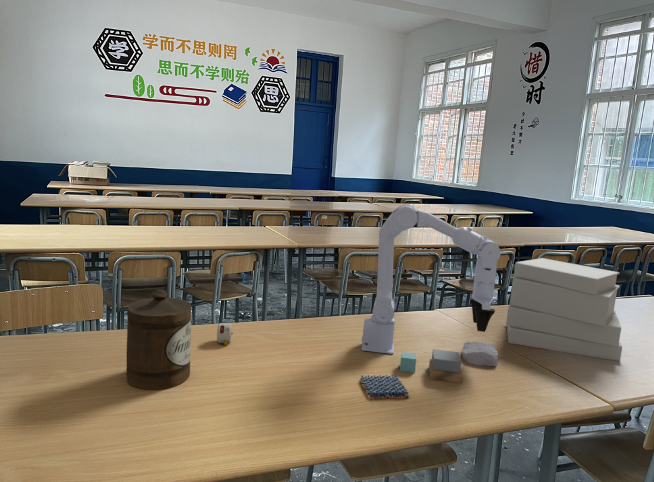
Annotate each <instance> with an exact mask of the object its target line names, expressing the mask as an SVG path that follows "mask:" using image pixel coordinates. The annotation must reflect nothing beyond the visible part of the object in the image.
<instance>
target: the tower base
mask: <svg viewBox="0 0 654 482" xmlns="http://www.w3.org/2000/svg"><path fill="white" fill-rule="evenodd" d="M428 371H429V379H430V381H439V382H447V383H454V382H455V384H463V383H462V382H463V370H462V369H461V370H460V373H457V372H449V371H441V370H433V366H432V358H429V363H428Z"/></svg>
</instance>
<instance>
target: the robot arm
mask: <svg viewBox="0 0 654 482" xmlns="http://www.w3.org/2000/svg"><path fill="white" fill-rule="evenodd" d="M415 225H417V228H420V227H423V228H424V227H428V228H431V229H432V230H435V231H436V232H439V233H440V234H443V235H445V236H447V237H449V238H450V239H451V240H452V243H453V245H455V246H456V247H459V248H460V249H463V250H464V251H466V252H469V254H472V255H477V258H476V264H475V268H474V269H475V270H474V279H473V287H472V288H473V289H472V294H471V297H469V299H468V300H469V302H470V304H471V311H472V320H473V321H472V322H473V323H474V324H476V330H477V332H483V333H486V330H487V328H488V326H489V325H488V324H489V322H490V320H491V318H492V317H493V315H494V314H495V312H496V309H495V308H491V304H492V303H493V302H494V301H496V302H497V301H498V297H497V296H494V292H495V285H496V284H495V283H496V276H497V265H498V260H499V259H500V258H501V254H502V253H501V250H500V249H501V248H500V247H499V244H497V243H496V242H494V241H493V240H491V239H490V238H488V236H487V235H482V234H479V233H477V232H475V231H474V230H473V228H472V227H470V226H467V227H465V226H460V227H455V226H453V225H452V224H450V223H448V222H447V221H444V220H443V219H441V218H439V217H437V216H435V215H434V214H432V213H430V212H428V211H426V210H423V209H420V208H418V207H415V208H414V207H413V206H412V205H411V204H402V205H400V206H398V207H396V209H394V210H393V211H392V212H391V213H390V215H389V216H388V218H387V219H386V220H385V221H384V222H383V224H382V226H381V227H380V229H379V231H378V232H379V233H378V252H377V253H378V255H377V256H378V258H377V278H376V279H377V280H376V281H377V283H376V284H377V285H376V286H377V287H376V297H375V300H374V305H373V309H372V315H371V316H370V317H369V318H367V317H366V318H364V321H363V327H362V328H363V329H362V336H361V351H364V352H373V353H380V354H381V353H382V354H388V355H389V354H390V355H393V354H394V353H395V344H394V337H395V323H396V319H395V318H394V317H395V308H396V307H395V306H396V305H395V300H394V299H393V280H394V279H393V273H394V253H395V238H396V237H398V236H399V235H400V234H402V232H404V231H407V230H410V229H412V228H413V227H415Z"/></svg>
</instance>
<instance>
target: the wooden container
mask: <svg viewBox="0 0 654 482" xmlns="http://www.w3.org/2000/svg"><path fill="white" fill-rule="evenodd" d="M151 294H152V297H150V298H145V299H144V298H143V299H139V300H135V301H133V302H132V303H130V304H129V305H128V306H127V311H126V312H127V314H126V315H127V316H126V317H127V318H126V319H127V322H126V324H127V327H126V329H127V331H126V376H125V377H126V382H127V383H128V384H129V385H130V386H132V387H134V388H138V389H142V390H149V391H151V390H152V391H153V390H163V389H164V390H165V389H169V388H173V387H175V386H179V385H181V384H183V383H184V382H186V381H188V379H189V378H190V375H191V374H190V373H191V350H192V349H191V347H192V343H191V340H192V338H191V336H192V335H191V334H192V333H191V332H192V330H191V329H192V324H191V323H192V321H191V319H192V304H191V302H189V301H187V300H185V299H181V298H176V297H167V296H168V293H167V291H166V290H165V289H156V290H155V291H153V293H151Z"/></svg>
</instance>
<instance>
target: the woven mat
mask: <svg viewBox="0 0 654 482" xmlns="http://www.w3.org/2000/svg"><path fill="white" fill-rule="evenodd" d="M359 379H360V380H359V382H360V384H361V386H362V387H363V389H364V390H365V394H366V396H367V398H368V399H371V400H373V399H374V400H376V399H405V398H406V399H408V398H410V395H409V391H408V389H407V388H406V386H405V384H403V382H402V381H401V380H400V378H399V376H397V375H393V374H391V375H387V374H386V375H383V376H382V375H381V374H380V375H377V376H376V375H375V374H374V375H371V376H370V375H367V376H366V375H361V377H360V378H359Z"/></svg>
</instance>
